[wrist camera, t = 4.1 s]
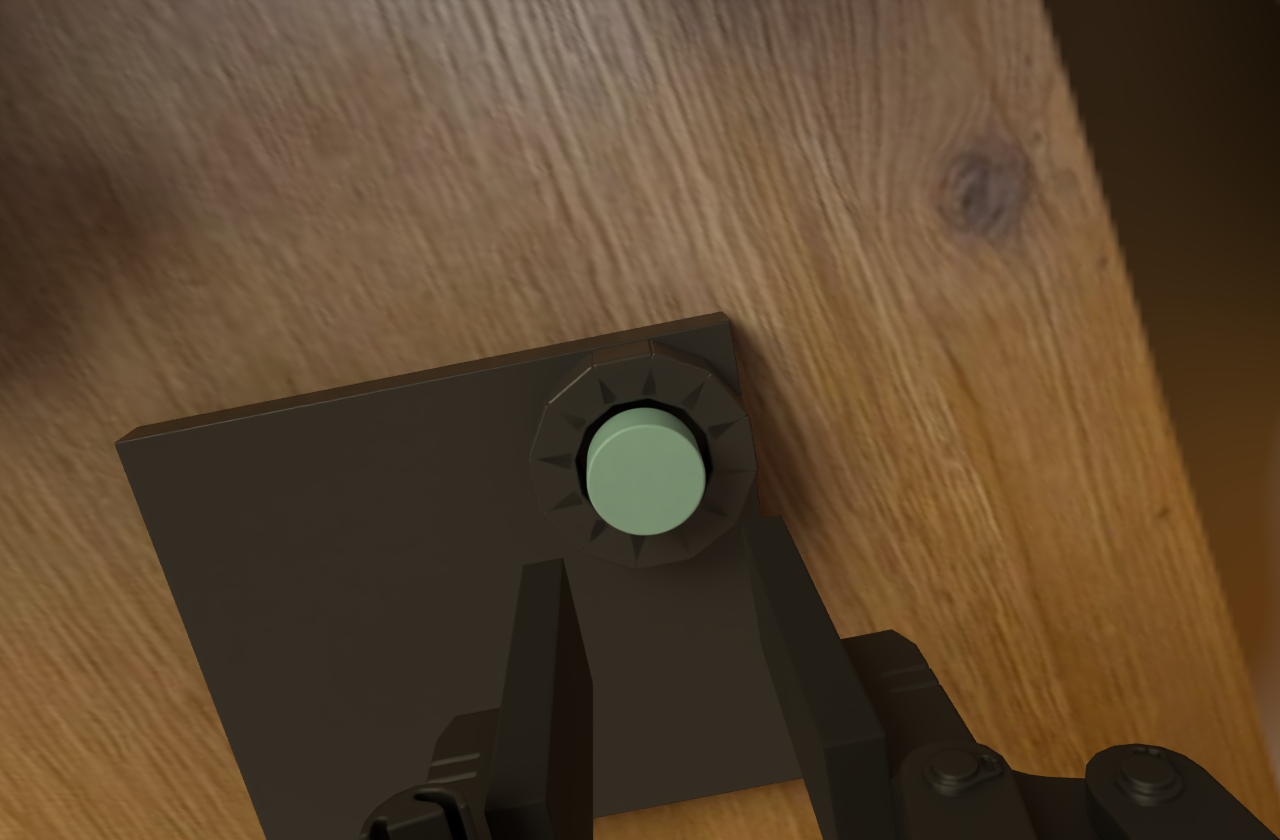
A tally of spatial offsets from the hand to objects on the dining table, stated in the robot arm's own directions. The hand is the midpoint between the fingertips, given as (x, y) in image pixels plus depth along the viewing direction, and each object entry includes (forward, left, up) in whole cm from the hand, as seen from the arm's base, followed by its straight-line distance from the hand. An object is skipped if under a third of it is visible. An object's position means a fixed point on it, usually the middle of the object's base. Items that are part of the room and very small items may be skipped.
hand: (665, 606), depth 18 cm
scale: (+6, +4, -11) cm, 13 cm away
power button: (0, 0, -8) cm, 8 cm away
